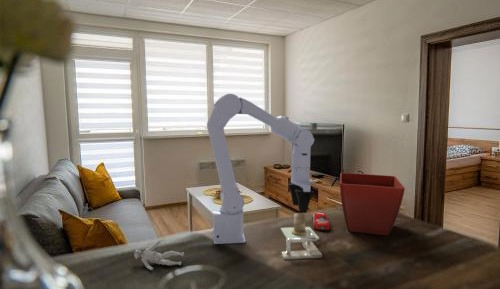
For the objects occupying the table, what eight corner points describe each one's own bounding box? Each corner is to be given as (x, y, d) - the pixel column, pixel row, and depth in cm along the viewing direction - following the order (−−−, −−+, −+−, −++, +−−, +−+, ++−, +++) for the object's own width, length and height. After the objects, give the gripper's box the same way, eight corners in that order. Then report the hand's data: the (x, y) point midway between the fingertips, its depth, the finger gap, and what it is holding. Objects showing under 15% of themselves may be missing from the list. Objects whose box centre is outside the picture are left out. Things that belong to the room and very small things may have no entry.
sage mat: (287, 240, 97) (287, 239, 97) (280, 228, 106) (280, 227, 106) (319, 239, 98) (319, 238, 98) (309, 227, 108) (309, 226, 108)
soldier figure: (177, 276, 77) (128, 263, 76) (175, 281, 81) (128, 269, 79) (186, 245, 82) (141, 233, 81) (184, 251, 86) (140, 239, 84)
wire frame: (284, 259, 84) (284, 241, 84) (277, 245, 93) (277, 229, 93) (322, 257, 86) (322, 239, 85) (311, 243, 94) (312, 227, 94)
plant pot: (402, 241, 97) (405, 187, 95) (337, 234, 102) (339, 183, 101) (393, 221, 115) (395, 175, 114) (338, 216, 121) (340, 172, 119)
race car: (330, 233, 104) (330, 221, 104) (313, 231, 105) (314, 220, 105) (326, 219, 117) (327, 209, 117) (311, 218, 118) (312, 208, 118)
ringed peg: (293, 236, 99) (294, 217, 99) (289, 230, 104) (290, 212, 104) (309, 235, 100) (309, 217, 99) (304, 229, 105) (305, 212, 104)
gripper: (321, 170, 93) (319, 215, 95) (306, 163, 108) (305, 202, 109) (297, 170, 92) (296, 216, 94) (286, 163, 107) (284, 202, 108)
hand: (299, 208), depth 101 cm, fingers open, 7 cm apart
